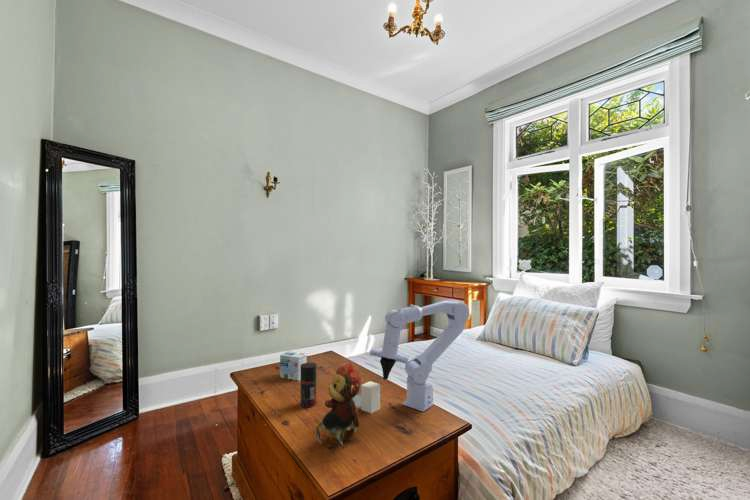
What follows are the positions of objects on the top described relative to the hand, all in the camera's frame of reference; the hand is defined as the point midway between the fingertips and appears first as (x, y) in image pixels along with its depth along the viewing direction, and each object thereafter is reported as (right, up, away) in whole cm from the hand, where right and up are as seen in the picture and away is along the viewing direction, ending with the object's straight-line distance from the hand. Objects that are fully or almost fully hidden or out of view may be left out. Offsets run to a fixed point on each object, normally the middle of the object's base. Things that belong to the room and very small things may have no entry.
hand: (385, 378), depth 128 cm
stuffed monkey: (-15, -11, -22) cm, 28 cm away
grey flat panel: (-13, -11, +5) cm, 18 cm away
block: (-6, -11, -1) cm, 12 cm away
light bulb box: (-42, -11, +32) cm, 54 cm away
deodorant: (-29, -11, +3) cm, 32 cm away
